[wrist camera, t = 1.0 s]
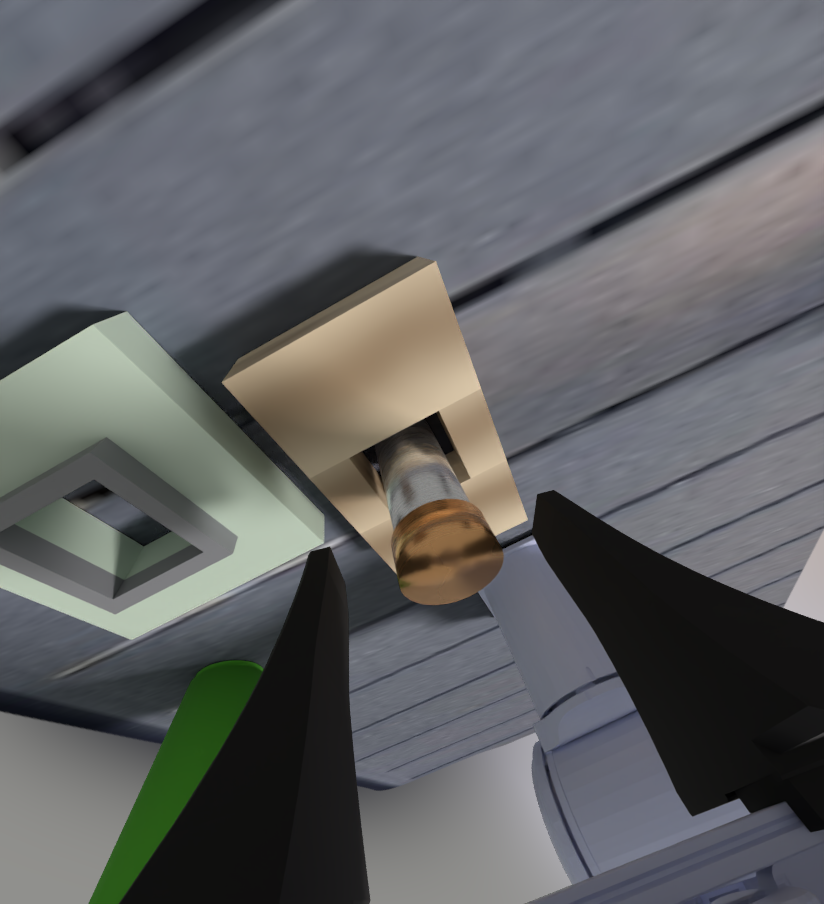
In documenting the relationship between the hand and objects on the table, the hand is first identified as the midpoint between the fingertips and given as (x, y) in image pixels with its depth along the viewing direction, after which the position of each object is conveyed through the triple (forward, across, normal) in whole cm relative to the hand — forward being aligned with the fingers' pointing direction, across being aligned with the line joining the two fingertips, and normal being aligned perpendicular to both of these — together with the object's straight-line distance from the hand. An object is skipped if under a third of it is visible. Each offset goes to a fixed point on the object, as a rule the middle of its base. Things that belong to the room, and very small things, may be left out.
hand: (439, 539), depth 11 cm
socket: (+7, +13, 0) cm, 14 cm away
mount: (+7, 0, 0) cm, 7 cm away
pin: (+7, 0, 0) cm, 7 cm away
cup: (+7, +16, +18) cm, 25 cm away
